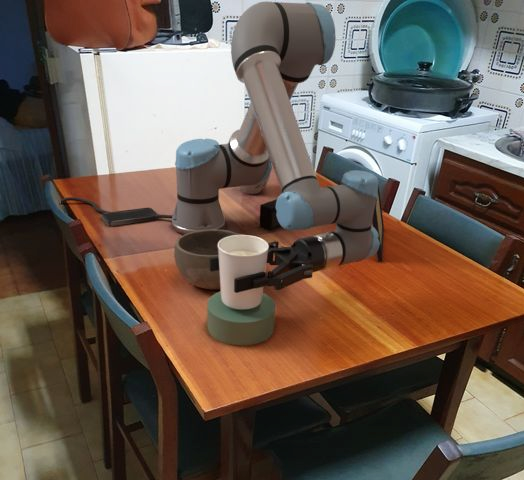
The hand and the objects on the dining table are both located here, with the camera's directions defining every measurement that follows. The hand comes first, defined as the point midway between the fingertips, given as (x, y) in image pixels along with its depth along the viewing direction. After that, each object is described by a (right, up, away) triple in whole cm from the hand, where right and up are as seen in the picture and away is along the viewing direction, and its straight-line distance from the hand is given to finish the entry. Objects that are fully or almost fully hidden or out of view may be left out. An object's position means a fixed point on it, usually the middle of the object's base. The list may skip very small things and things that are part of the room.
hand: (222, 274), depth 105 cm
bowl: (-4, +2, +26) cm, 27 cm away
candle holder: (+3, -4, +6) cm, 8 cm away
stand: (+3, -10, +10) cm, 14 cm away
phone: (-31, +24, +55) cm, 68 cm away
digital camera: (+12, +22, +57) cm, 62 cm away
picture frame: (+37, +16, +50) cm, 64 cm away
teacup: (+3, +40, +82) cm, 91 cm away
